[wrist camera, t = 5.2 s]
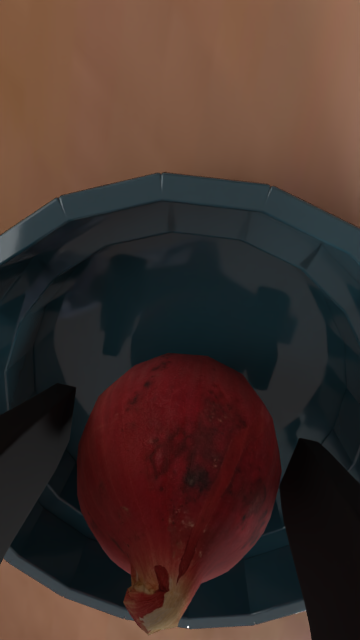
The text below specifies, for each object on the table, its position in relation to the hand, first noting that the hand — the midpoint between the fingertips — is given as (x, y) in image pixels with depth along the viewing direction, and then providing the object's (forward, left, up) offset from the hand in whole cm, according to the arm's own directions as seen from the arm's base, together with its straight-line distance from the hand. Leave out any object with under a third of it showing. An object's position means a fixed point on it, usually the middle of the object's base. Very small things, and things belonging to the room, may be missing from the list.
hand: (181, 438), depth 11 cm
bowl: (0, 0, -4) cm, 4 cm away
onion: (0, 0, -3) cm, 3 cm away
